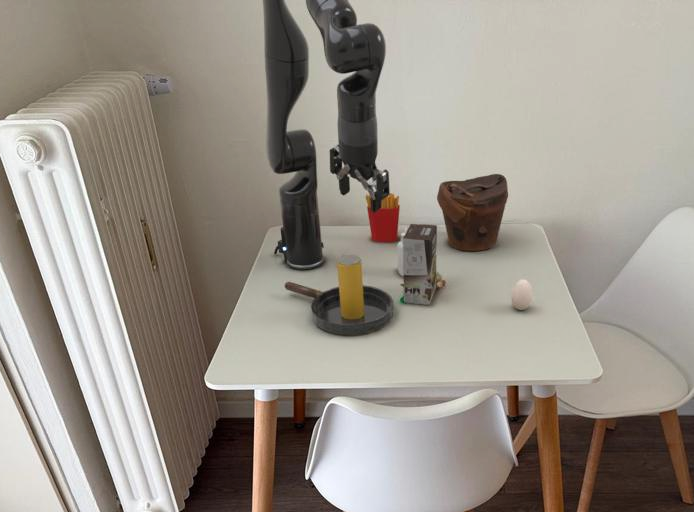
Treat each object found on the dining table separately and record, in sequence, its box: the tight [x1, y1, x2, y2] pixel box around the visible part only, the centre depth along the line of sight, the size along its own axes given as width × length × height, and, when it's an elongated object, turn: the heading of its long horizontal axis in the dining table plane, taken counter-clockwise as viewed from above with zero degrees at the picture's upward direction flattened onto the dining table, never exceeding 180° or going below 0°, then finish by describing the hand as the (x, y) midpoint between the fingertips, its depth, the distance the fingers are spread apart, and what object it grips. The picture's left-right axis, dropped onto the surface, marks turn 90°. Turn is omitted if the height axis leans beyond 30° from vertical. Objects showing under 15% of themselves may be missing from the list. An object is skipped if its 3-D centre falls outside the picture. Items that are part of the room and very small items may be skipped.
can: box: [336, 254, 364, 320], centre depth 144 cm, size 5×5×13 cm
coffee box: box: [403, 223, 438, 306], centre depth 151 cm, size 9×6×16 cm
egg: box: [510, 278, 533, 311], centre depth 148 cm, size 5×5×7 cm
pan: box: [310, 284, 395, 336], centre depth 147 cm, size 18×18×3 cm
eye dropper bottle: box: [397, 227, 408, 277], centre depth 162 cm, size 4×6×12 cm
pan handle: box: [284, 281, 323, 299], centre depth 153 cm, size 11×2×2 cm, turn 58°
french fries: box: [365, 193, 401, 243], centre depth 180 cm, size 9×4×13 cm, turn 85°
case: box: [436, 173, 509, 252], centre depth 176 cm, size 18×20×18 cm
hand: (360, 201), depth 138 cm, fingers open, 8 cm apart
